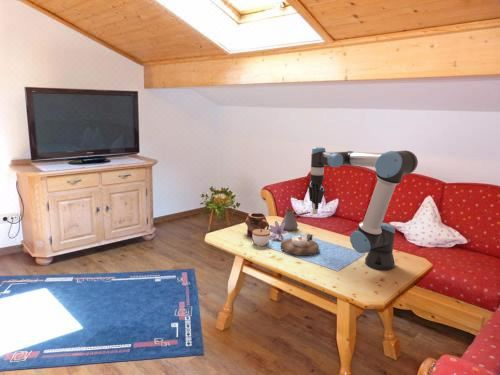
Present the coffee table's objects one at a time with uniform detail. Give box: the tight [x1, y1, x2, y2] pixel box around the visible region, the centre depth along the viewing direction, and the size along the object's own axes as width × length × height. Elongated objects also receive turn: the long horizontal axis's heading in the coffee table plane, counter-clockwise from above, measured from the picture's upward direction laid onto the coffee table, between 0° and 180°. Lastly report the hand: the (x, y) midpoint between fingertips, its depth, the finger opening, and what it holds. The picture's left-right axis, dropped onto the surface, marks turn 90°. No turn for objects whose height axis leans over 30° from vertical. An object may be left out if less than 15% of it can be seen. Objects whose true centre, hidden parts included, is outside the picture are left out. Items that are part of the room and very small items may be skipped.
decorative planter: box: [244, 212, 270, 238], centre depth 248 cm, size 20×12×14 cm, turn 48°
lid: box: [291, 234, 307, 247], centre depth 228 cm, size 9×9×5 cm
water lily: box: [268, 220, 289, 242], centre depth 246 cm, size 15×15×9 cm
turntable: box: [280, 233, 319, 256], centre depth 228 cm, size 22×22×6 cm
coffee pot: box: [280, 209, 312, 232], centre depth 261 cm, size 21×12×15 cm, turn 53°
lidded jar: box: [251, 228, 271, 247], centre depth 235 cm, size 11×11×9 cm
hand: (314, 213), depth 228 cm, fingers closed
